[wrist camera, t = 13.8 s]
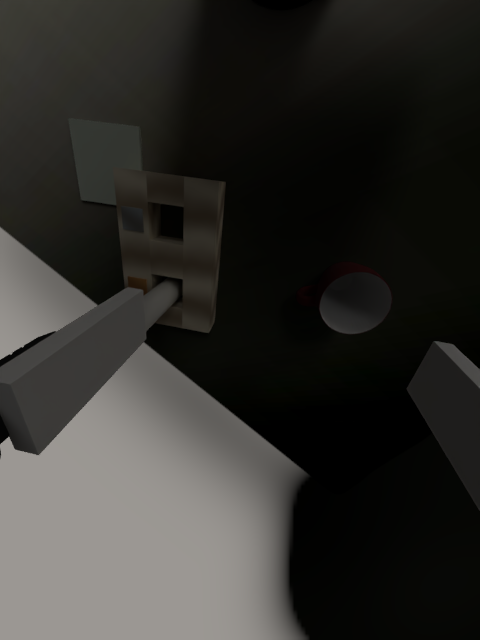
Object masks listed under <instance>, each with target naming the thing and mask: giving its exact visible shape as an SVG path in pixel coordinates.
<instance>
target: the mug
mask: <svg viewBox="0 0 480 640" xmlns="http://www.w3.org/2000/svg"><path fill="white" fill-rule="evenodd" d="M313 293H316V295H313V296H307V295H310V294H313ZM296 300H297V302H298V303H299V304H301V305H303V306H309V307H310V306H317V308H318V310H319V313H320V316H321V318H322V320H323V321H324V323H325V324H326V325H327V326H328V327H330V328H331V329H332V330H334V331H336V332H339V333H343V334H360V333H364V332H367V331H369V330H371V329H373V328H375V327H376V326H378V325H379V324H380V323H381V322H382V321H383V320H384V319H385V318H386V316H387V315H388V313H389V311H390V309H391V306H392V292H391V289H390V287H389V285H388V284H387V283H386V281H385V280H384V279H383V278H382V277H381V276H380V275H379V274H378V273H377V272H375V271H374V270H372V269H370V268H368V267H366V266H363V265H360V264H357V263H353V262H339V263H336V264H333V265H332V266H330V267H329V268H327V269H326V270H325V271H324V273H323V274H322V276H321V278H320V280H319V283H318V284H317V285H310V286H305V287H302V288H300V289H299V290H298V291H297V293H296Z"/></svg>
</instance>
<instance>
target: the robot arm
mask: <svg viewBox="0 0 480 640" xmlns="http://www.w3.org/2000/svg"><path fill="white" fill-rule="evenodd" d="M252 1H253V2H255V3H256V4H258V5H260V6H263V7H266V8H269V9H275V10H288V9H293V8H297V7H300V6H302V5H305V4H307V3H309V2H311V1H312V0H252ZM145 340H146V326H145V311H144V296H143V290H141V289H136V288H130V287H127V288H126V289H124V290H122V291H121V292H119V293H118V294H116V295H114V296H113V297H111V298H110V299H108V300H106V301H105V302H103V303H102V304H100V305H98V306H97V307H95V308H94V309H92V310H90V311H89V312H87V313H86V314H84V315H82V316H81V317H79V318H78V319H76V320H75V321H73V322H71V323H70V324H68V325H66V326H65V327H63V328H62V329H60V330H58V331H57V332H55V331H54V332H51V333H48V334H46V335H43V336H40V337H38V338H36V339H34V340H33V341H31V342H29V343H28V344H26V345H24V347H23V348H22V347H21V348H19V349H18V350H16V351H14V352H13V353H12V355H8V356H6V357H4V358H3V359H1V360H0V444H1V443H2V442H3V441H4V440H5V439H6V438H8V437H10V439H11V441H12V444H13V446H14V448H15V449H16V450H20V451H24V452H28V453H33V454H36V455H39V454H40V453H41V452H42V451H43V450H44V449H45V448H46V447H47V445H49V443H50V442H51V441H52V440H53V439H54V438H55V437H56V436H57V435H58V434H59V433H60V432H61V431H62V429H63V428H64V427H65V426H66V425H67V424H68V423H69V422H70V421H71V420H72V418H73V417H74V416H75V415H76V414H77V413H78V412H79V411H80V410H81V409H82V408H83V407H84V406H85V404H87V402H88V401H89V400H90V399H91V398H92V397H93V396H94V395H95V394H96V393H97V392H98V390H99V389H100V388H101V387H102V386H103V385H104V384H105V383H106V382H107V381H108V380H109V379H110V378H111V377H112V375H113V374H114V373H115V372H116V371H117V370H118V369H119V368H120V367H121V366H122V365H123V364H124V362H125V361H126V360H127V359H128V358H129V357H130V356H131V355H132V354H133V353H134V352H135V351H136V349H137V348H138V347H139V346H140V345H141V344H142V343H143V342H144V341H145ZM407 391H408V392H409V394H410V396H411V397H412V399H413V401H414V402H415V404H416V406H417V407H418V409H419V411H420V412H421V414H422V416H423V417H424V419H425V421H426V422H427V424H428V426H429V427H430V429H431V431H432V432H433V434H434V435H435V437H436V439H437V441H438V442H439V444H440V445H441V447H442V449H443V451H444V452H445V454H446V455H447V457H448V459H449V460H450V462H451V464H452V465H453V467H454V469H455V471H456V472H457V474H458V476H459V477H460V479H461V480H462V482H463V484H464V485H465V487H466V489H467V490H468V492H469V494H470V495H471V497H472V499H473V501H474V502H475V504H476V505H477V507H478V509H479V511H480V369H478V368H477V367H476V366H475V365H474V364H473V363H472V362H471V361H470V360H469V359H468V358H467V357H466V356H465V355H464V354H462V353H461V352H460V351H459V350H458V349H457V348H456V347H455V346H454V345H453V344H448V343H443V342H437V341H434V342H433V343H432V345H431V347H430V349H429V350H428V352H427V354H426V356H425V357H424V359H423V361H422V363H421V365H420V366H419V368H418V370H417V372H416V373H415V375H414V377H413V379H412V380H411V382H410V384H409V386H408V387H407ZM0 456H1V451H0Z"/></svg>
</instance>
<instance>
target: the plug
mask: <svg viewBox="0 0 480 640" xmlns="http://www.w3.org/2000/svg"><path fill="white" fill-rule="evenodd" d="M182 294H183V279H178V278H172V277H168V278H166V279H165V280H164V281H162V282H161V283H160V284H158V285H157V286H156V287H155V288H153V289H152V290H151V291H149V292H148V293H147V294H145V295H144V311H145V326H146V331H147V330H148V329H149V328H150V327H151V326H152V325H153V324H154V323H155V322H156V321H157V320H158V319H159V318H160V317H161V316H162V315H163V314H164V313H165V312H166V311H167V310H168V309H169V308H170V307H171V306H172V304H173V303H174V302H175V301H176V300H177V299H178V298H179V297H180V296H181V295H182Z"/></svg>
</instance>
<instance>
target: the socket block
mask: <svg viewBox="0 0 480 640" xmlns="http://www.w3.org/2000/svg"><path fill="white" fill-rule="evenodd" d="M113 175H114V185H115V195H116V205H117V215H118V225H119V235H120V245H121V255H122V264H123V274H124V284H125V289H126V288H127V287H130V288H136V289H141V290H143V296H144V295H145V294H147V293H148V292H149V291H151V290H152V289H153V288H155V287H156V286H157V285H158V284H160V283H161V282H162V281H163V278H162V276H167V277H172V278H178V279H183V298H178V299H177V300H176V301H175V302H174V303H173V304H172V306H171V307H170V308H169V309H168V310H167V311H166V312H165V313H164V314H163V315H162V316H161V317H160V318H159V319H158V320H157V321H156V322H155V323H157V324H163V325H168V326H173V327H179V328H184V329H190V330H195V331H200V332H206V333H209V331H210V330H211V328H212V326H213V324H214V322H215V311H216V298H217V286H218V274H219V261H220V249H221V237H222V224H223V212H224V199H225V187H226V182H222V181H215V180H208V179H200V178H193V177H185V176H178V175H170V174H163V173H156V172H148V171H141V170H133V169H126V168H117V167H113ZM161 204H167V205H174V206H181V207H184V225H183V239H180V238H174V237H168V236H161Z"/></svg>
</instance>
